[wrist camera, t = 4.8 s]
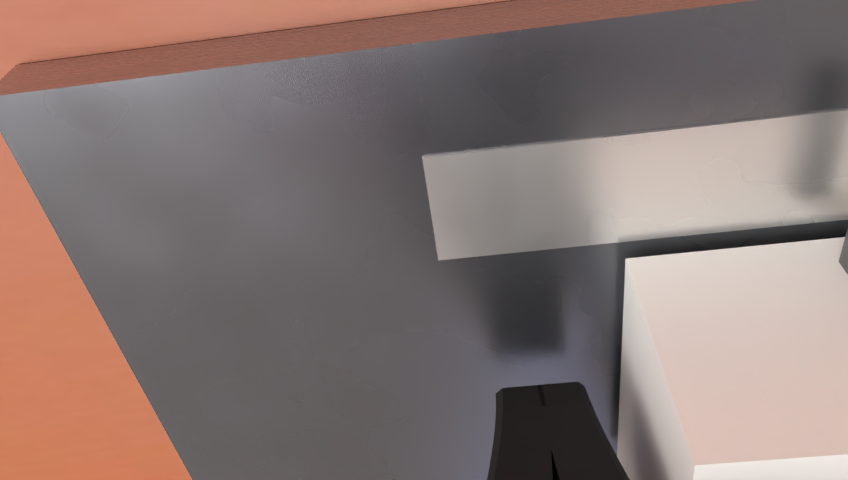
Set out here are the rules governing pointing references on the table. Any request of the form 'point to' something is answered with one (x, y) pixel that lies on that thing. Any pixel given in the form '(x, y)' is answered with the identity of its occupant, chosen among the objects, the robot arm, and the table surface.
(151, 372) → the gauge bench
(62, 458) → the table surface
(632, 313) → the gauge
